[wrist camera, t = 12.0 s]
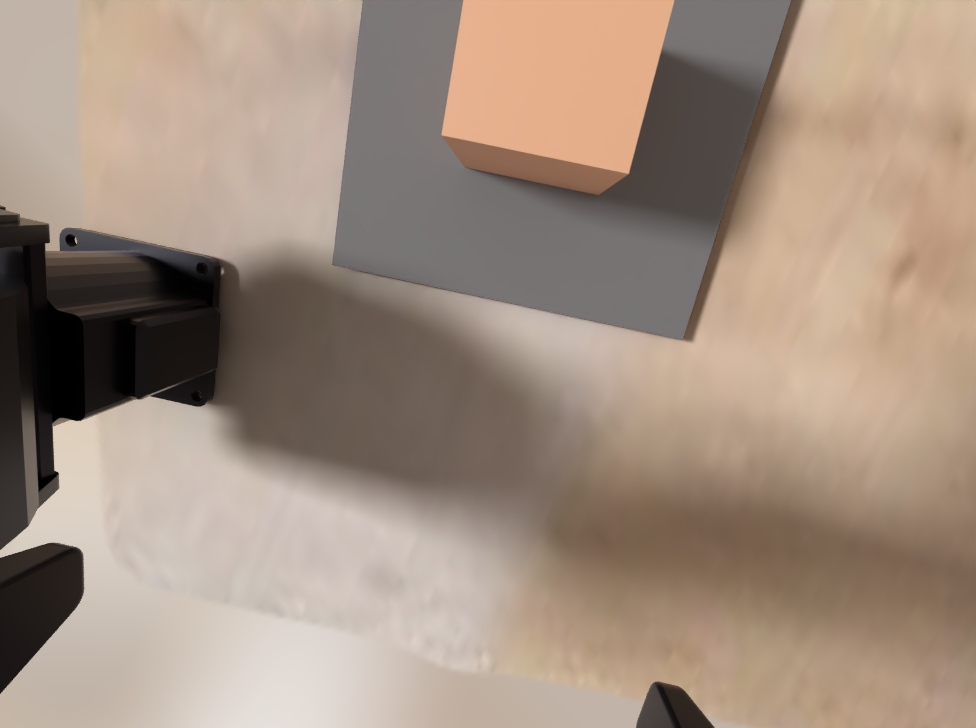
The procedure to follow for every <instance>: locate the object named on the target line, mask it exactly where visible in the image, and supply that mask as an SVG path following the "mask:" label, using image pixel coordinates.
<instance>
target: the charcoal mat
mask: <svg viewBox="0 0 976 728" xmlns="http://www.w3.org/2000/svg"><path fill="white" fill-rule="evenodd" d="M790 3H791V0H674V4H673V8H672V12H671V15H670V19H669V23H668V27H667V31H666V34H665V38H664V42H663V46H662V49H661V53H660V57H659V61H658V65H657V68H656V72H655V76H654V80H653V84H652V87H651V91H650V95H649V99H648V103H647V106H646V110H645V114H644V118H643V122H642V125H641V129H640V133H639V137H638V141H637V144H636V148H635V152H634V156H633V159H632V163H631V167H630V171H629V174H628V175H626V176H625V177H624V178H622V179H621V180H619V181H618V182H616V183H615V184H614V185H612V186H611V187H609V188H608V189H606V190H605V191H604V192H602V193H601V194H599V195H595V194H590V193H585V192H581V191H576V190H571V189H566V188H561V187H557V186H552V185H547V184H542V183H537V182H533V181H528V180H523V179H518V178H513V177H509V176H504V175H499V174H494V173H489V172H485V171H480V170H475V169H470V168H465V167H464V166H463V164H462V163H461V162H460V160H459V159H458V157H457V156H456V155H455V153H454V152H453V151H452V149H451V148H450V146H449V145H448V144H447V142H446V141H445V139H444V138H443V137H442V129H443V122H444V116H445V110H446V104H447V98H448V92H449V86H450V80H451V73H452V67H453V61H454V55H455V49H456V43H457V37H458V30H459V24H460V18H461V12H462V6H463V0H363V4H362V12H361V21H360V29H359V38H358V47H357V55H356V64H355V73H354V81H353V90H352V99H351V107H350V116H349V125H348V133H347V142H346V151H345V159H344V168H343V177H342V185H341V194H340V203H339V211H338V220H337V228H336V237H335V246H334V254H333V263H332V265H335V266H339V267H344V268H349V269H353V270H358V271H363V272H367V273H372V274H377V275H381V276H386V277H391V278H395V279H400V280H405V281H409V282H414V283H419V284H423V285H428V286H433V287H437V288H442V289H447V290H451V291H456V292H461V293H465V294H470V295H475V296H479V297H484V298H489V299H493V300H498V301H502V302H507V303H512V304H516V305H521V306H526V307H530V308H535V309H540V310H544V311H549V312H554V313H558V314H563V315H568V316H572V317H577V318H582V319H586V320H591V321H596V322H600V323H605V324H610V325H614V326H619V327H624V328H628V329H633V330H638V331H642V332H647V333H652V334H656V335H661V336H666V337H670V338H675V339H680V340H683V337H684V334H685V331H686V328H687V325H688V322H689V318H690V315H691V312H692V309H693V306H694V303H695V300H696V297H697V293H698V290H699V287H700V284H701V281H702V278H703V275H704V272H705V268H706V265H707V262H708V259H709V256H710V253H711V250H712V247H713V243H714V240H715V237H716V234H717V231H718V228H719V225H720V222H721V218H722V215H723V212H724V209H725V206H726V203H727V200H728V197H729V193H730V190H731V187H732V184H733V181H734V178H735V175H736V172H737V169H738V165H739V162H740V159H741V156H742V153H743V150H744V147H745V144H746V140H747V137H748V134H749V131H750V128H751V125H752V122H753V119H754V115H755V112H756V109H757V106H758V103H759V100H760V97H761V94H762V90H763V87H764V84H765V81H766V78H767V75H768V72H769V69H770V65H771V62H772V59H773V56H774V53H775V50H776V47H777V44H778V40H779V37H780V34H781V31H782V28H783V25H784V22H785V19H786V15H787V12H788V9H789V6H790Z"/></svg>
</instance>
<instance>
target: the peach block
mask: <svg viewBox="0 0 976 728" xmlns="http://www.w3.org/2000/svg"><path fill="white" fill-rule="evenodd" d="M673 4H674V0H463V6H462V12H461V18H460V24H459V30H458V37H457V43H456V49H455V55H454V61H453V67H452V73H451V80H450V86H449V92H448V98H447V104H446V110H445V116H444V122H443V129H442V137H443V138H444V139H445V141H446V142H447V144H448V145H449V146H450V148H451V149H452V151H453V152H454V153H455V155H456V156H457V157H458V159H459V160H460V162H461V163H462V164H463V166H464V167H465V168H470V169H475V170H480V171H485V172H489V173H494V174H499V175H504V176H509V177H513V178H518V179H523V180H528V181H533V182H537V183H542V184H547V185H552V186H557V187H561V188H566V189H571V190H576V191H581V192H585V193H590V194H595V195H599V194H601V193H602V192H604V191H605V190H606V189H608V188H609V187H611V186H612V185H614V184H615V183H616V182H618V181H619V180H621V179H622V178H624V177H625V176H626V175H628V174H629V171H630V167H631V163H632V159H633V156H634V152H635V148H636V144H637V141H638V137H639V133H640V129H641V125H642V122H643V118H644V114H645V110H646V106H647V103H648V99H649V95H650V91H651V87H652V84H653V80H654V76H655V72H656V68H657V65H658V61H659V57H660V53H661V49H662V46H663V42H664V38H665V34H666V31H667V27H668V23H669V19H670V15H671V12H672V8H673Z"/></svg>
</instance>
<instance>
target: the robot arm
mask: <svg viewBox="0 0 976 728" xmlns="http://www.w3.org/2000/svg"><path fill="white" fill-rule="evenodd" d="M49 237H50V236H49V224H48V223H43V222H38V221H34V220H29V219H25V218H20V215H19V214H17V213H13V212H10V211H6V208H5V207H3V206H0V550H1V549H2V548H3V547H4V546H5V545H6V544H8V543H9V542H10V541H11V540H12V539H14V538H15V537H16V536H17V535H18V534H20V533H21V532H22V531H23V530H24V529H26V528H27V527H28V526H29V524H30V522H31V520H32V518H33V516H34V515H35V512H36V511H37V509H38V508H39V507H40V506H41V505H42V504H43V503H44V502H45V501H46V500H47V499H48V498H49V497H50V496H51V495H53V494H54V493H55V492H56V491H57V490H58V489H59V473H58V472H56V471H54V450H53V426H56V425H58V424H61V423H64V422H66V421H69V420H75V421H81V420H84V419H86V418H89V417H92V416H94V415H97V414H99V413H102V412H104V411H107V410H109V409H112V408H115V407H117V406H120V405H122V404H125V403H127V402H130V401H133V400H135V399H144V398H146V397H149V396H152V397H156V398H161V399H165V400H170V401H174V402H179V403H183V404H188V405H192V406H203V405H205V404H207V403H209V402H211V400H212V399H213V396H214V381H215V369H216V368H217V363H218V345H219V327H220V312H219V310H218V308H219V290H220V272H221V271H220V265H219V263H218V262H217V261H216V260H215V259H214V258H212V257H210V256H206V255H201V254H197V253H192V252H187V251H183V250H178V249H174V248H169V247H164V246H160V245H155V244H150V243H146V242H141V241H136V240H132V239H127V238H122V237H118V236H113V235H109V234H104V233H99V232H95V231H90V230H85V229H81V228H65V229H64V230H62V232H61V233H60V251H45V243H49V242H50V238H49ZM75 237H76V238H77V244H76V243H75V240H74V239H75ZM204 263H205V264H206V265H207V266H208V273H207V274H206V273H205V272H204V271H203V265H204ZM197 391H200V392H201V394H202V398H201V397H199V395H198V393H197ZM83 593H84V563H83V553H82V551H81V550H80V549H79V548H77V547H73V546H69V545H64V544H60V543H48V544H45V545H41V546H38V547H35V548H31V549H28V550H25V551H22V552H18V553H15V554H12V555H8V556H5V557H2V558H0V694H1V692H2V691H3V690H4V689H5V688H6V687H7V686H8V685H9V683H10V682H11V681H12V680H13V679H14V678H15V677H16V676H17V674H18V673H19V672H20V671H21V670H22V669H23V667H24V666H25V665H26V664H27V663H28V662H29V661H30V660H31V658H32V657H33V656H34V655H35V654H36V653H37V652H38V651H39V649H40V648H41V647H42V646H43V645H44V644H45V643H46V641H47V640H48V639H49V638H50V637H51V636H52V635H53V634H54V633H55V631H56V630H57V629H58V628H59V627H60V626H61V624H62V623H63V622H64V621H65V620H66V619H67V618H68V617H69V616H70V614H71V613H72V612H73V611H74V610H75V608H76V607H77V606H78V604H79V603H80V601H81V599H82V596H83ZM636 728H714V726H713V725H712V724H711V723H710V721H709V720H708V719H707V718H706V716H705V715H704V714H703V713H702V711H701V710H700V709H699V708H698V707H697V705H696V704H695V703H694V702H693V700H692V699H691V698H690V697H689V695H688V694H687V693H686V692H685V691H684V690H683V689H682V688H680V687H678V686H675V685H671V684H666V683H662V682H654V683H653V684H652V685H651V687H650V688H649V691H648V694H647V696H646V699H645V702H644V704H643V707H642V710H641V713H640V715H639V718H638V721H637V726H636Z"/></svg>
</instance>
